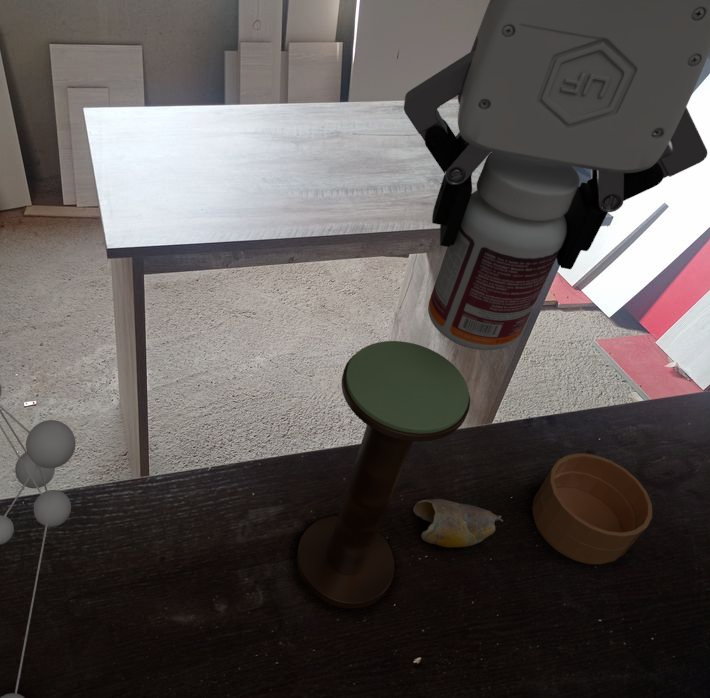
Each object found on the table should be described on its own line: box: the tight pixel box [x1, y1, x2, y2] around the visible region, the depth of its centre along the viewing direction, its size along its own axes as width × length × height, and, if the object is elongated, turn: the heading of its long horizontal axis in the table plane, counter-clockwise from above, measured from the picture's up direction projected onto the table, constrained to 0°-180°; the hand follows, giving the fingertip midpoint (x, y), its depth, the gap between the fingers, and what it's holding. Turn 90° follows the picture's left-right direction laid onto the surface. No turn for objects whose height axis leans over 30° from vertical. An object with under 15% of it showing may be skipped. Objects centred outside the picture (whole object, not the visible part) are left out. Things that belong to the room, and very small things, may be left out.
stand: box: [296, 354, 471, 609], centre depth 59 cm, size 9×9×24 cm
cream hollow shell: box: [412, 498, 504, 548], centre depth 69 cm, size 8×4×5 cm, turn 103°
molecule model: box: [0, 384, 76, 698], centre depth 57 cm, size 14×25×18 cm, turn 172°
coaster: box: [346, 340, 470, 434], centre depth 50 cm, size 9×9×1 cm
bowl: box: [531, 452, 653, 565], centre depth 71 cm, size 9×9×6 cm
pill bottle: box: [427, 152, 581, 351], centre depth 44 cm, size 6×6×11 cm
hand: (504, 242), depth 43 cm, fingers closed on pill bottle, 6 cm apart
